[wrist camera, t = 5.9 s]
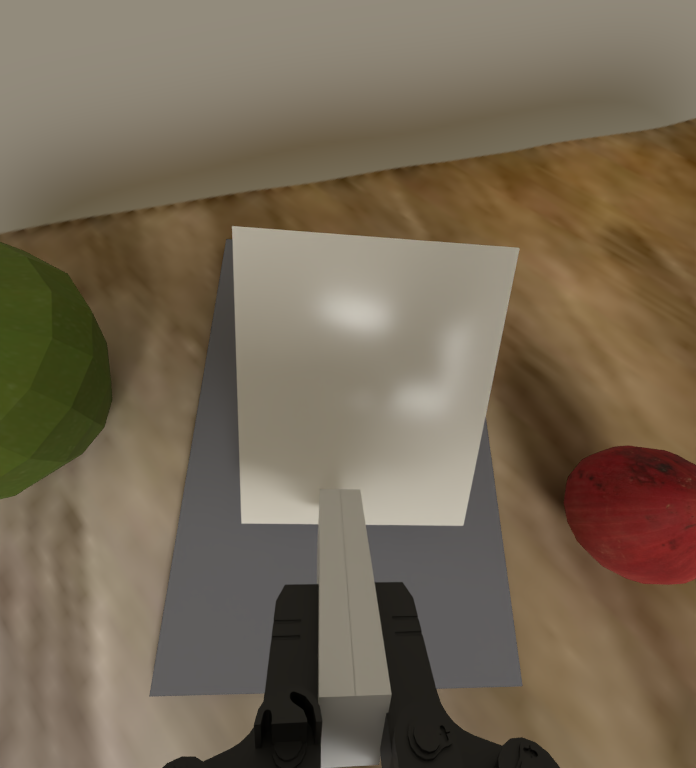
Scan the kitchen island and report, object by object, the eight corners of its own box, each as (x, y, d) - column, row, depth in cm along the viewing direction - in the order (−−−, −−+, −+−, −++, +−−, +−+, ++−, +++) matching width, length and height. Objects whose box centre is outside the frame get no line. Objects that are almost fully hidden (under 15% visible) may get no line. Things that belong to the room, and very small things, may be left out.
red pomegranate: (512, 479, 20) (627, 450, 13) (596, 448, 22) (744, 405, 14) (566, 591, 19) (736, 631, 11) (654, 550, 20) (860, 562, 12)
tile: (463, 525, 17) (519, 248, 13) (241, 523, 16) (232, 226, 12) (444, 490, 19) (486, 249, 16) (252, 486, 19) (247, 231, 15)
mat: (515, 681, 17) (522, 686, 16) (155, 690, 16) (149, 696, 15) (460, 262, 26) (463, 256, 25) (228, 245, 25) (226, 239, 24)
